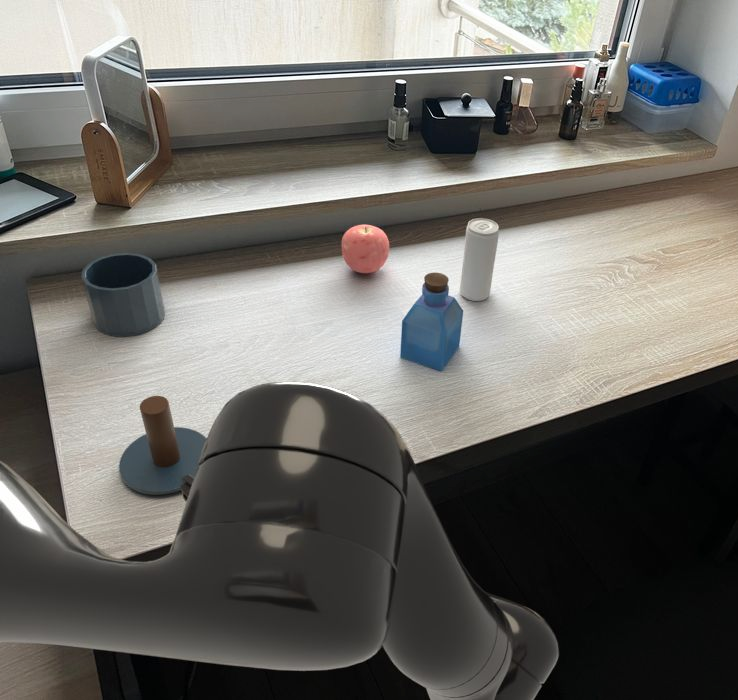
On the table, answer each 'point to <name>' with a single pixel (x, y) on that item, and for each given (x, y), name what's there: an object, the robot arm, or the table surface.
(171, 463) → the lid
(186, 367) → the table surface
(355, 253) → the apple
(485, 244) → the beverage can
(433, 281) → the perfume bottle
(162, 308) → the pot
